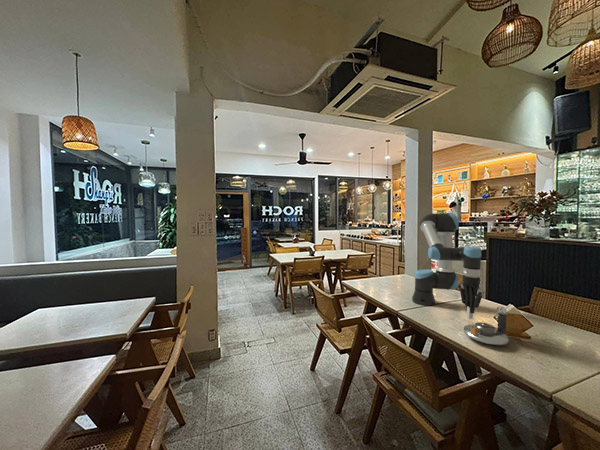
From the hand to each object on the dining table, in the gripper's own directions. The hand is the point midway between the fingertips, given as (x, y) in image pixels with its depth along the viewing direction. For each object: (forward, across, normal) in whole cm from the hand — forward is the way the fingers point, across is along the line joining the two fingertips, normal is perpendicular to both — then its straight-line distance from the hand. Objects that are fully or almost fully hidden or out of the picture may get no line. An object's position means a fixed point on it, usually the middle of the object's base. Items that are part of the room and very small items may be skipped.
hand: (469, 318), depth 129 cm
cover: (+4, +8, 0) cm, 9 cm away
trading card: (+8, -6, +1) cm, 10 cm away
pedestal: (+7, +9, 0) cm, 11 cm away
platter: (+5, +9, 0) cm, 10 cm away
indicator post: (+7, +9, +9) cm, 15 cm away
